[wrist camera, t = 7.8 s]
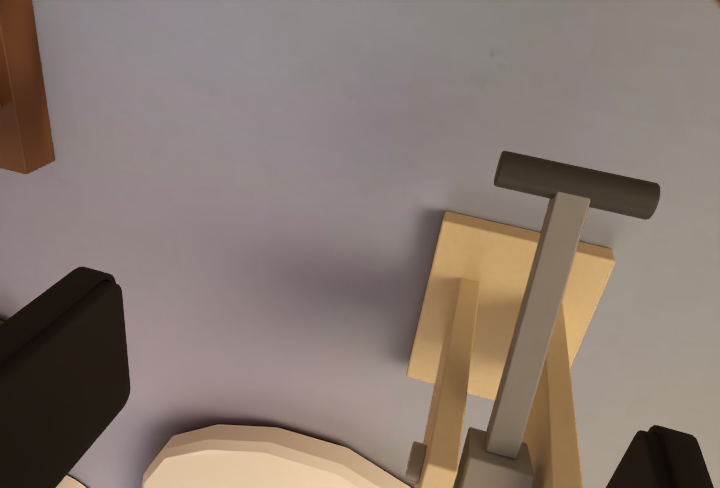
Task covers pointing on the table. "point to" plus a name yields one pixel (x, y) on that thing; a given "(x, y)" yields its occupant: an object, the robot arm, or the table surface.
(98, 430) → the robot arm
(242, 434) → the decorative plate
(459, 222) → the lever base
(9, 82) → the button block
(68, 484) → the cup
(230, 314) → the table surface
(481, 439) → the lever
